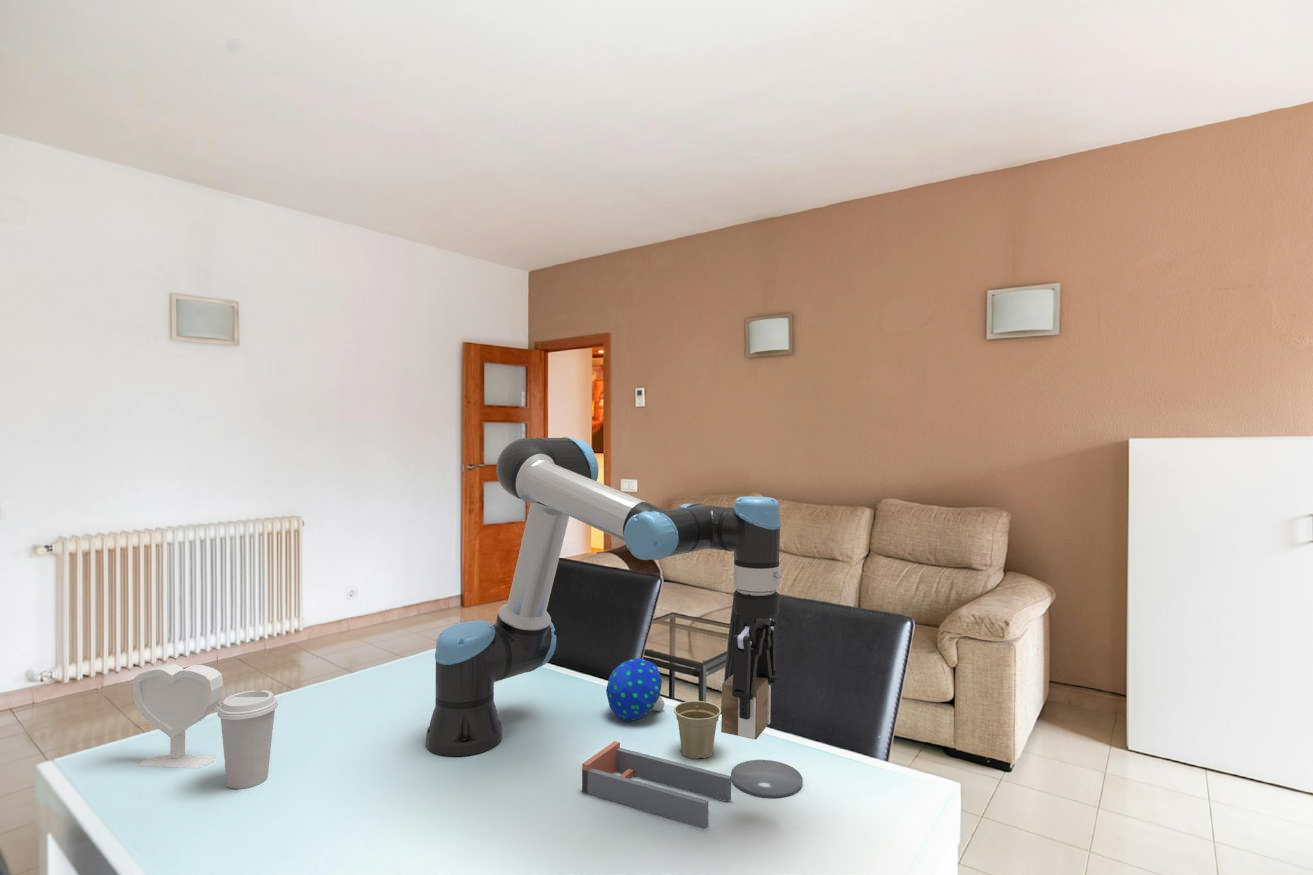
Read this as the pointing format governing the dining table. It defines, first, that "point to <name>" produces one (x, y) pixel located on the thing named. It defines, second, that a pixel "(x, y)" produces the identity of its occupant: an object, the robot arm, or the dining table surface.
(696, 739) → the flower pot
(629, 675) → the mushroom
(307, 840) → the dining table surface
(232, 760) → the coffee cup
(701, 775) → the channel
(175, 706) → the heart sculpture
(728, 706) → the block
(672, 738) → the dining table surface
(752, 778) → the coaster
